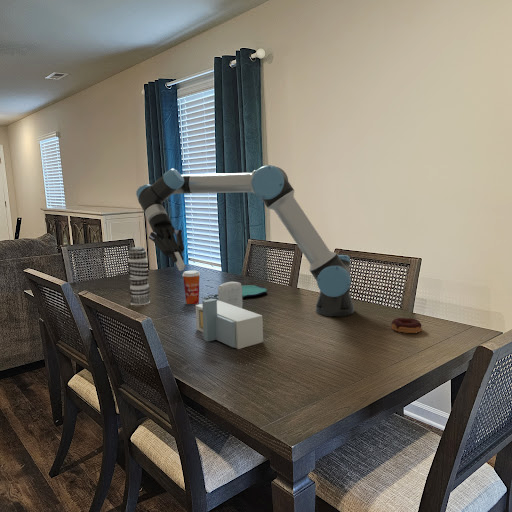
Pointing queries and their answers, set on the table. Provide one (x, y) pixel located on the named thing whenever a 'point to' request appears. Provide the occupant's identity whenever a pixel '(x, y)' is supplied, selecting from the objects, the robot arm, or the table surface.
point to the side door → (217, 324)
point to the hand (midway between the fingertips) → (182, 268)
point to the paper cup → (191, 286)
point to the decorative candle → (138, 276)
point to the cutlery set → (247, 291)
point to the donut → (406, 325)
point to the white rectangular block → (237, 323)
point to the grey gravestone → (231, 293)
